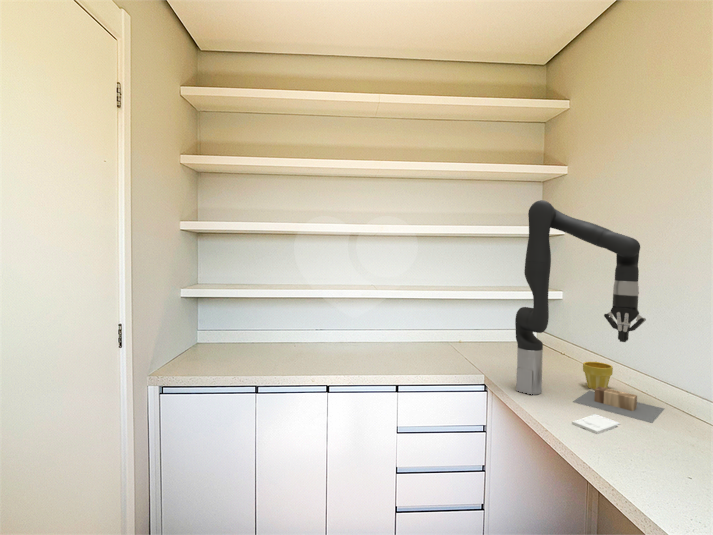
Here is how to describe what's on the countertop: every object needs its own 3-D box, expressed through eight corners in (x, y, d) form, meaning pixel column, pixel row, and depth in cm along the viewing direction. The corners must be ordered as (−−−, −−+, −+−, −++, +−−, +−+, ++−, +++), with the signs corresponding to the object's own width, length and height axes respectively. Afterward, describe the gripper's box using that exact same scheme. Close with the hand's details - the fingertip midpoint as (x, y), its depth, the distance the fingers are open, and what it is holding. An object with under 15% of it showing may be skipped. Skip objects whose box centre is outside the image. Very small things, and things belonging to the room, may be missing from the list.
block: (633, 398, 137) (594, 389, 146) (633, 411, 137) (594, 401, 146) (637, 395, 140) (598, 386, 149) (636, 407, 140) (598, 398, 149)
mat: (652, 425, 128) (652, 423, 128) (572, 403, 146) (572, 401, 146) (664, 410, 140) (664, 408, 140) (589, 391, 158) (589, 390, 158)
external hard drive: (620, 427, 127) (596, 435, 121) (594, 418, 134) (571, 425, 128) (620, 422, 127) (596, 430, 121) (594, 413, 134) (571, 420, 128)
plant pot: (581, 382, 169) (582, 359, 168) (609, 386, 164) (610, 363, 164) (583, 390, 159) (584, 366, 159) (613, 394, 155) (614, 369, 155)
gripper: (601, 292, 145) (598, 339, 145) (644, 295, 135) (641, 346, 135) (608, 291, 150) (606, 337, 150) (651, 295, 139) (648, 344, 140)
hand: (623, 341), depth 143 cm, fingers closed
